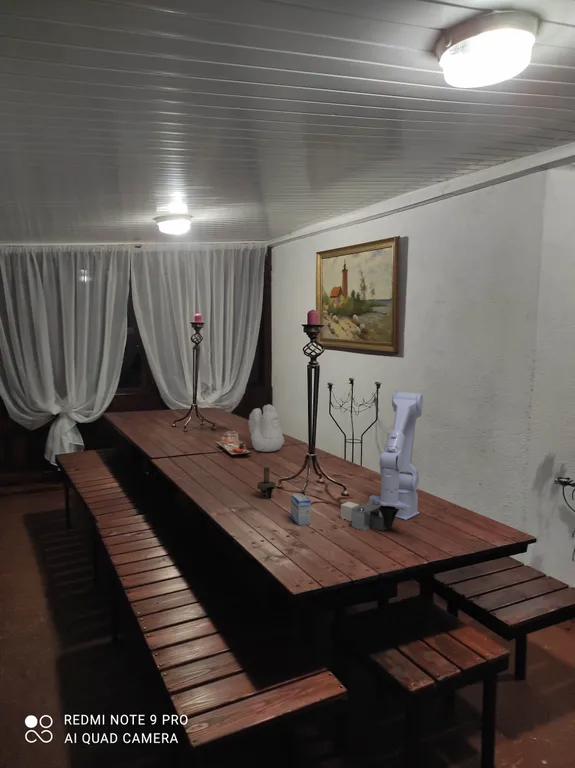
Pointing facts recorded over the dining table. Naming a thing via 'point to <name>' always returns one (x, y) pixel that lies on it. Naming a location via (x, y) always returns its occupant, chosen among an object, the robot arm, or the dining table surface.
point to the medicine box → (300, 509)
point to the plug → (375, 520)
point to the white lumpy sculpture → (265, 429)
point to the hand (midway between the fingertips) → (388, 527)
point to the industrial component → (266, 485)
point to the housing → (364, 515)
